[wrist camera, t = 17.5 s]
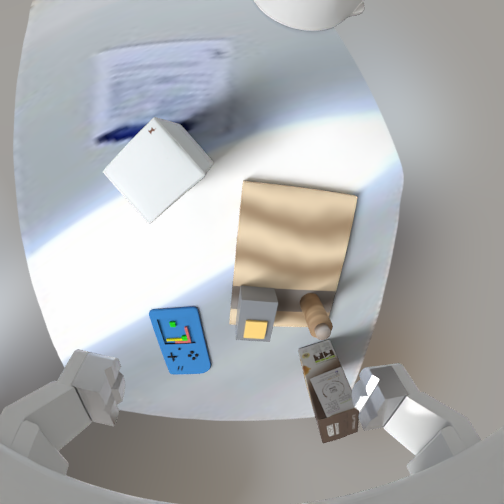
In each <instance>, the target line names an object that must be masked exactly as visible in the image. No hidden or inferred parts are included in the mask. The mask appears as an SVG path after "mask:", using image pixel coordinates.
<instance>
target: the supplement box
mask: <svg viewBox="0 0 504 504" xmlns="http://www.w3.org/2000/svg"><path fill="white" fill-rule="evenodd" d="M212 165H213V161H212V160H211V158H210V157H209V156H208V155H207V154H206V152H205V151H204V150H203V149H202V148H201V147H200V146H199V144H198V143H197V142H196V141H195V140H194V139H193V138H192V137H191V135H190V134H189V133H188V132H187V131H186V130H185V129H184V128H183V127H182V126H181V124H178V123H174V122H171V121H167V120H164V119H160V118H156V117H154V118H153V119H152V120H151V121H150V122H149V123H148V124H147V125H146V126H145V127H144V128H143V129H142V130H141V131H140V132H139V133H138V134H137V135H136V136H135V137H134V138H133V139H132V140H131V141H130V142H129V143H128V144H127V145H126V146H125V147H124V149H123V150H122V151H121V152H120V153H119V154H118V155H117V156H116V157H115V158H114V159H113V160H112V162H111V163H110V164H109V165H108V166H107V167H106V168H105V169H104V171H103V173H104V174H105V175H106V176H107V177H108V179H109V180H110V181H111V182H112V183H113V184H114V186H115V187H116V188H117V189H118V190H119V191H120V192H121V193H122V195H123V196H124V197H125V198H126V199H127V200H128V201H129V202H130V204H131V205H132V206H133V207H134V208H135V209H136V210H137V211H138V212H139V213H140V215H141V216H142V217H143V218H144V219H145V220H146V221H147V222H148V223H149V224H151V223H152V222H153V221H154V220H155V219H156V218H157V217H158V216H160V215H161V214H162V213H163V212H164V211H165V210H166V209H167V208H169V207H170V206H171V205H172V204H173V203H174V202H176V201H177V200H178V199H179V198H180V197H181V196H183V195H184V194H185V193H186V192H187V191H188V190H190V189H191V188H192V187H193V186H194V185H195V184H197V183H198V182H199V181H200V180H201V179H203V178H204V177H205V175H206V173H207V172H208V170H209V169H210V168H211V166H212Z"/></svg>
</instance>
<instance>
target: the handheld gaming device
mask: <svg viewBox="0 0 504 504" xmlns="http://www.w3.org/2000/svg"><path fill="white" fill-rule="evenodd" d="M149 316H150V319H151V322H152V325H153V328H154V331H155V334H156V337H157V340H158V343H159V345H160V348H161V351H162V354H163V356H164V359H165V362H166V364H167V367H168V369H169V372H170V373H171V374H200V373H205V372H207V371H208V370H209V369H210V365H211V363H210V359H209V355H208V351H207V347H206V343H205V338H204V334H203V330H202V326H201V321H200V317H199V312H198V309H197V308H196V307H180V308H166V309H152V310H150V312H149Z"/></svg>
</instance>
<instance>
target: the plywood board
mask: <svg viewBox="0 0 504 504" xmlns="http://www.w3.org/2000/svg"><path fill="white" fill-rule="evenodd" d="M356 203H357V196H355V195H350V194H344V193H337V192H331V191H324V190H317V189H310V188H303V187H295V186H287V185H279V184H270V183H260V182H251V181H243V186H242V196H241V206H240V215H239V225H238V235H237V246H236V256H235V267H234V277H233V287H232V298H231V311H230V324H234V325H236V316H237V308H238V301H239V293H240V286H241V285H242V286H254V287H266V288H274V289H275V293H276V296H277V300H278V306H277V311H276V315H275V320H274V325H273V326H281V327H308V325H307V323H306V320H305V317H304V315H303V312H302V310H301V307H300V304H299V302H300V299H301V298H302V296H304V295H305V294H307V293H315V294H316V295H318V297H319V299H320V301H321V303H322V305H323V307H324V309H325V311H326V313H327V315H328V317H329V314H330V311H331V308H332V304H333V301H334V297H335V294H336V289H337V286H338V282H339V278H340V274H341V270H342V266H343V262H344V258H345V254H346V250H347V245H348V241H349V237H350V232H351V227H352V223H353V218H354V213H355V208H356Z"/></svg>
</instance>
